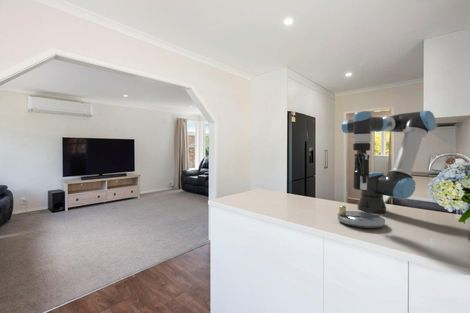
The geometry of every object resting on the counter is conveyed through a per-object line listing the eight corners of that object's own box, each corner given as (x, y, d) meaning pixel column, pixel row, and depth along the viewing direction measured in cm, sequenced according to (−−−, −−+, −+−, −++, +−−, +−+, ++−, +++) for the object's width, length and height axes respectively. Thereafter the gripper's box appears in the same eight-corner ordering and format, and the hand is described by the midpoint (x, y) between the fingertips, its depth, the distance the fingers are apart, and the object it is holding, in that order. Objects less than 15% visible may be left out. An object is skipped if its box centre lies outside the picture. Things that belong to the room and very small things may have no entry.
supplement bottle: (368, 191, 109) (369, 166, 108) (352, 189, 112) (353, 165, 112) (368, 188, 114) (369, 165, 114) (353, 187, 118) (354, 164, 118)
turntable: (374, 215, 122) (375, 203, 122) (393, 229, 102) (393, 214, 101) (333, 213, 126) (333, 201, 126) (343, 226, 106) (343, 211, 106)
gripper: (348, 143, 123) (347, 184, 124) (360, 142, 103) (359, 191, 104) (363, 143, 121) (362, 185, 122) (378, 142, 102) (377, 192, 103)
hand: (360, 188), depth 113 cm, fingers closed on supplement bottle, 7 cm apart
